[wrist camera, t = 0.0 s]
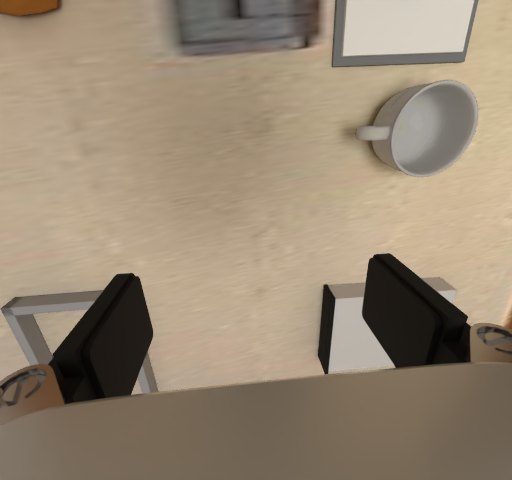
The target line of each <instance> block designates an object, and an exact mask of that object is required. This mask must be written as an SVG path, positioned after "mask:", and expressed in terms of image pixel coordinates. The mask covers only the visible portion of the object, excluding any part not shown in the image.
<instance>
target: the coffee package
mask: <svg viewBox="0 0 512 480" xmlns="http://www.w3.org/2000/svg"><path fill="white" fill-rule="evenodd" d="M57 6H58V0H0V13H5V14H10V15H18V16H22V15H27V14H36V13H42V12H45V11H48V10H51V9H55V8H56V7H57Z"/></svg>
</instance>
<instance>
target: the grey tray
mask: <svg viewBox="0 0 512 480" xmlns="http://www.w3.org/2000/svg"><path fill="white" fill-rule="evenodd" d="M103 291H104V290H103ZM103 291H90V292H77V293H65V294H52V295H40V296H27V297H15V298H14V299H12V300H11V301H10V302H8V303H7V304H6V305H5V306H3V307H2V308H1V311H2V313H3V315H4V316H5V318H6V320H7V322H8V324H9V326H10V328H11V330H12V332H13V333H14V335H15V337H16V339H17V341H18V343H19V345H20V347H21V348H22V350H23V352H24V354H25V356H26V358H27V360H28V362H29V364H30V365H31V366H32V365H36V364H46V365H48V364H49V362H50V361H51V360H52V358H53V357H52V355H51V352H50V350H49V348H48V346H47V344H46V342H45V340H44V338H43V336H42V334H41V331H40V329H39V327H38V325H37V323H36V321H35V319H34V317H33V315H32V314H38V313H50V312H62V311H74V310H86V309H89V308H90V307H91V306H92V304H93V303H94V302H95V301H96V299H97V298H98V297H99V296H100V294H101V293H102V292H103ZM138 380H139V383H140V386H141V389H142V392H143V394H144V393H153V392H158V389H157V385H156V382H155V378H154V375H153V371H152V367H151V364H150V360H149V357H148V353H147V354H146V357H145V359H144V362H143V364H142V367H141V370H140V372H139V375H138Z"/></svg>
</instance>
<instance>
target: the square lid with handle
mask: <svg viewBox="0 0 512 480" xmlns="http://www.w3.org/2000/svg"><path fill="white" fill-rule="evenodd" d="M473 4H474V0H345V9H344V24H343V38H342V52H341V57H355V56H383V55H411V54H439V53H460V52H463V49H464V44H465V40H466V35H467V31H468V26H469V22H470V17H471V13H472V8H473Z"/></svg>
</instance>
